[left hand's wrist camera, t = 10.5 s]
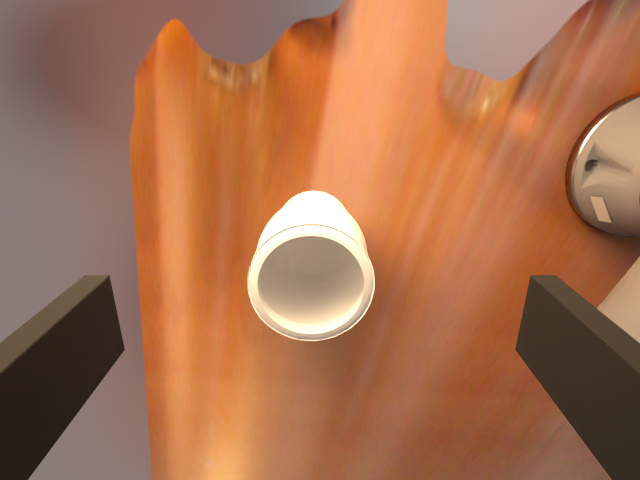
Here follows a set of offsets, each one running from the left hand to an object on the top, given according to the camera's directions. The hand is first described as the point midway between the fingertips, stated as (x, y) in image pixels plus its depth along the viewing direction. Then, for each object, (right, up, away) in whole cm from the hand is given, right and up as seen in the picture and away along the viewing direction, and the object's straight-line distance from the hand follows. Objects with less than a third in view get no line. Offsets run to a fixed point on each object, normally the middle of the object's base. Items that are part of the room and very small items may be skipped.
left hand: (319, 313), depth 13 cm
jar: (-1, +4, +34) cm, 34 cm away
